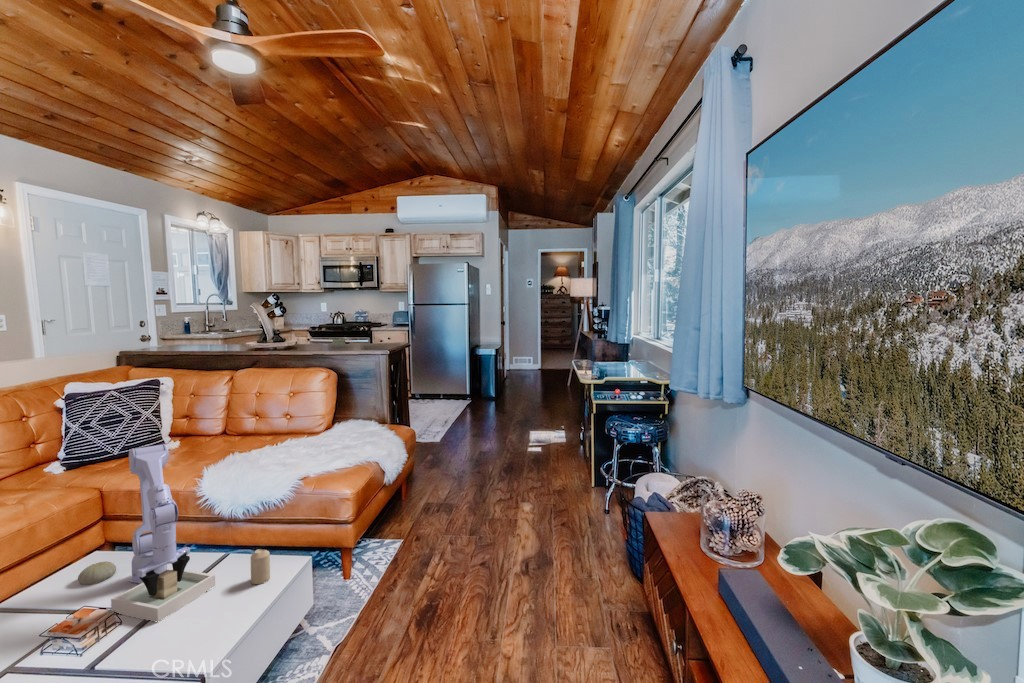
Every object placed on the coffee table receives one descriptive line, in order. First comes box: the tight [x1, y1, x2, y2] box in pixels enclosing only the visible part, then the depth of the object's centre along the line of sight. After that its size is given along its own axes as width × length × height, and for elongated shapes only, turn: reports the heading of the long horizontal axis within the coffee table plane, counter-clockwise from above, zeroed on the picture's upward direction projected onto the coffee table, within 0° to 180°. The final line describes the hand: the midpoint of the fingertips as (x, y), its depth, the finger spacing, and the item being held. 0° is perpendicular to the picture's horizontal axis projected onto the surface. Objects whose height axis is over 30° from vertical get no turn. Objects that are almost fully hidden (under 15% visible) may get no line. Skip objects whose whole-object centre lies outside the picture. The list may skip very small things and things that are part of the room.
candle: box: [250, 548, 271, 585], centre depth 147 cm, size 6×6×10 cm
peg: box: [154, 569, 177, 600], centre depth 136 cm, size 4×4×8 cm
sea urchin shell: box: [77, 561, 117, 585], centre depth 148 cm, size 9×8×8 cm
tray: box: [110, 566, 216, 623], centre depth 136 cm, size 18×18×4 cm
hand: (165, 587), depth 136 cm, fingers open, 7 cm apart
